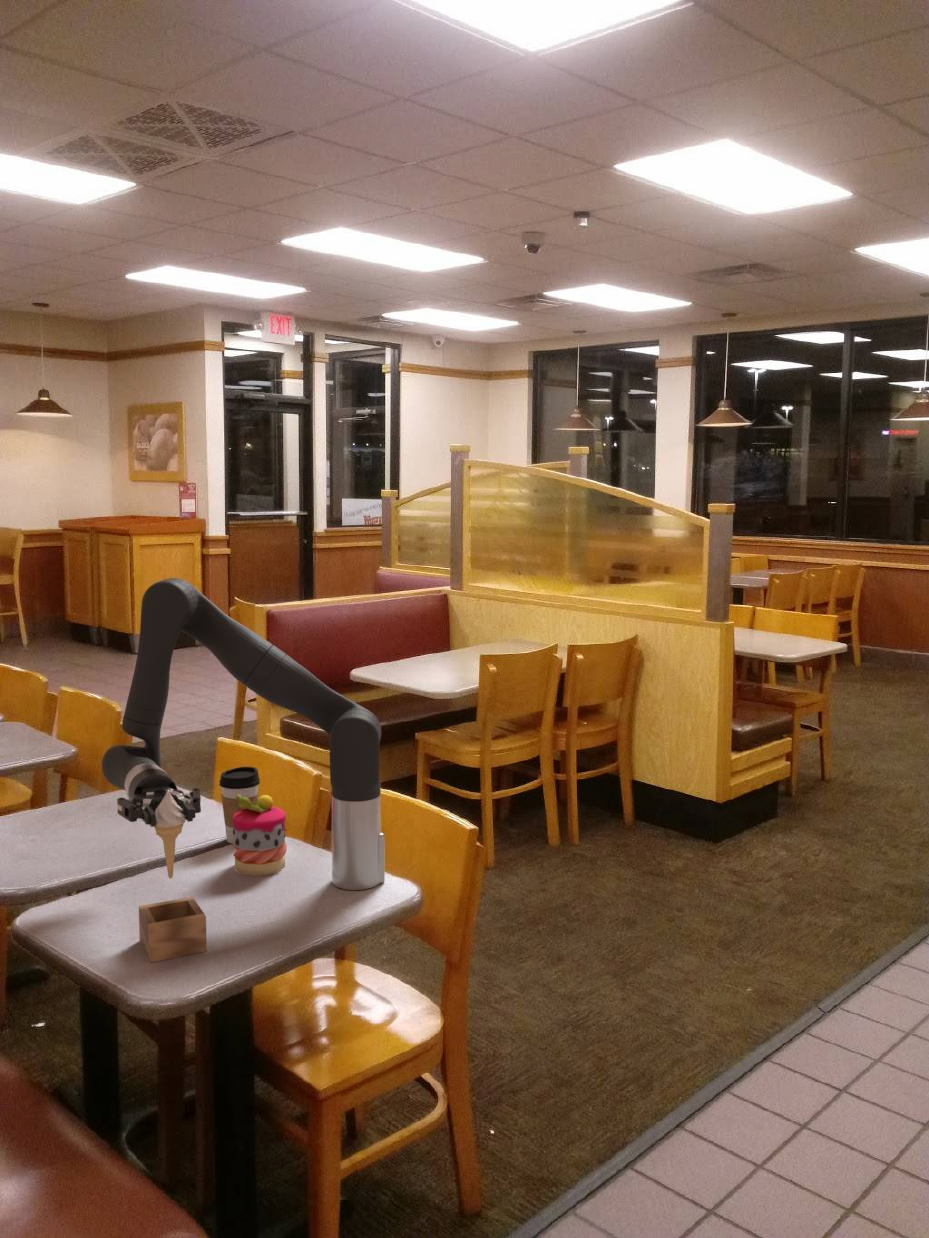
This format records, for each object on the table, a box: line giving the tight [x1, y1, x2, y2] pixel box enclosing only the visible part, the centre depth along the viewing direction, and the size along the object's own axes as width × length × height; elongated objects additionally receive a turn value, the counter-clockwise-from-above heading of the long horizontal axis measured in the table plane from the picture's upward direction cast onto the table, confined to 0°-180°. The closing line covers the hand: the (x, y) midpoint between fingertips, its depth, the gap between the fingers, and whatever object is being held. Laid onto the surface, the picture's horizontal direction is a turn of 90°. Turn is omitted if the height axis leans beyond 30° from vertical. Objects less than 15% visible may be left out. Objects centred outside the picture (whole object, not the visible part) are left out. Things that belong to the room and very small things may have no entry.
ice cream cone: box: [154, 790, 187, 879], centre depth 169 cm, size 6×6×15 cm
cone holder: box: [138, 896, 208, 963], centre depth 171 cm, size 9×9×6 cm
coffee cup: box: [218, 766, 261, 845], centre depth 221 cm, size 8×8×15 cm
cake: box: [232, 794, 288, 877], centre depth 206 cm, size 10×11×15 cm
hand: (172, 818), depth 166 cm, fingers closed on ice cream cone, 5 cm apart
